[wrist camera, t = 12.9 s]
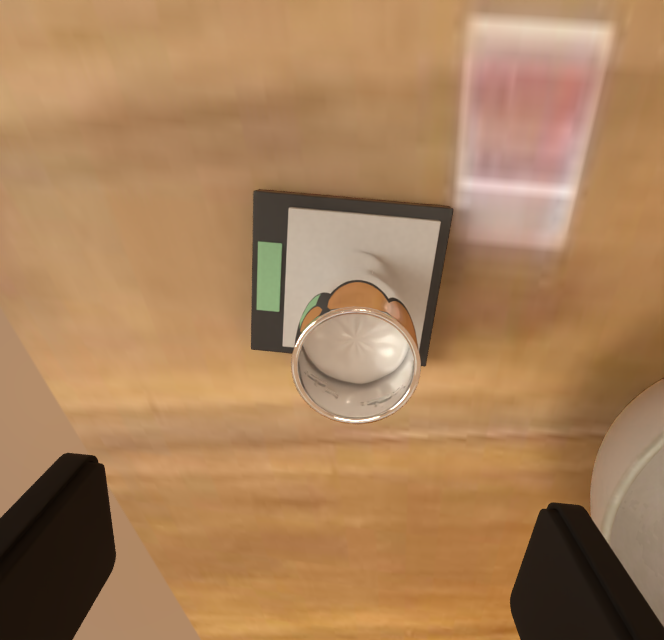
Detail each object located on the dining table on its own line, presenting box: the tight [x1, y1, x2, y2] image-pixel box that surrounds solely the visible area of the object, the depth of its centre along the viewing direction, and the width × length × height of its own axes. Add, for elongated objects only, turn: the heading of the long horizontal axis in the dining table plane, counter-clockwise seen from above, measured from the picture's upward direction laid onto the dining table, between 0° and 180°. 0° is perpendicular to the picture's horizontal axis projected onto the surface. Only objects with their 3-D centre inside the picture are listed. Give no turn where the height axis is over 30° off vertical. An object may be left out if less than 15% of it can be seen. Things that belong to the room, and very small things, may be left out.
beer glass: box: [291, 252, 421, 424], centre depth 28 cm, size 7×7×15 cm
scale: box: [251, 189, 453, 366], centre depth 37 cm, size 16×14×3 cm
